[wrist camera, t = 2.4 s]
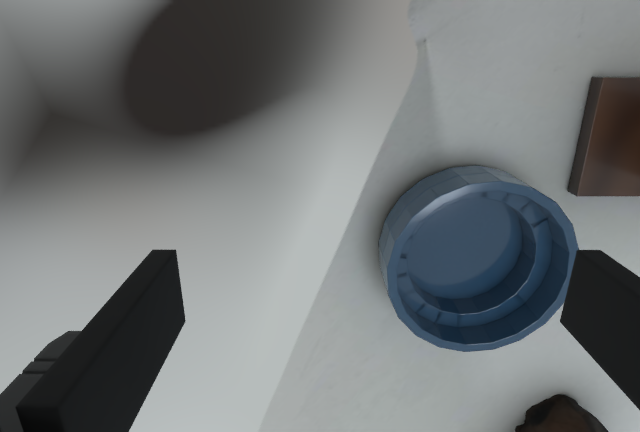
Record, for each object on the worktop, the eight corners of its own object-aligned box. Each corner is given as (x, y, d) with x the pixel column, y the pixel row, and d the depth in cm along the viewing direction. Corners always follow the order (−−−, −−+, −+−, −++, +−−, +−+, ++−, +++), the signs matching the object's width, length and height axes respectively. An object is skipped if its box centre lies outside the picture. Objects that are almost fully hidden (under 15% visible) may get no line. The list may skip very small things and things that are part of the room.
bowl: (347, 270, 41) (351, 303, 36) (440, 131, 37) (463, 144, 31) (474, 336, 44) (497, 377, 39) (576, 215, 39) (619, 241, 34)
